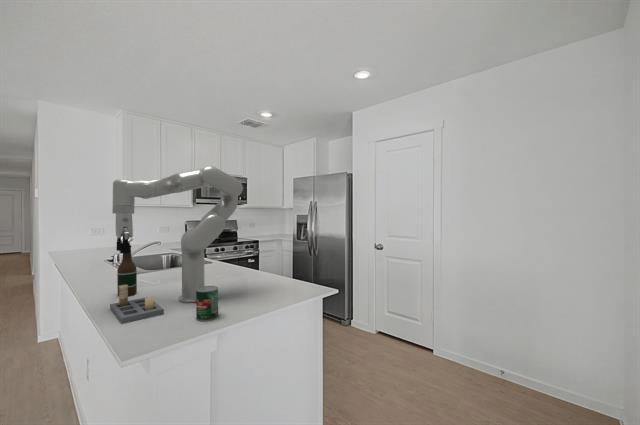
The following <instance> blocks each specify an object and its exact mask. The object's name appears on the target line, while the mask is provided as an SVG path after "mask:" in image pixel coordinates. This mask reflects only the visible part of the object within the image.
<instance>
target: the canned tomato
mask: <svg viewBox="0 0 640 425" xmlns="http://www.w3.org/2000/svg"><path fill="white" fill-rule="evenodd" d="M195 307H196V309H195V310H196V315H195V317H196V320H197V321H199V322H210V321H213V320H216V319H218V318H219V287H218V286H215V285H204V287H200V288H197V289H196V302H195Z"/></svg>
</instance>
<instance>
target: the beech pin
mask: <svg viewBox="0 0 640 425" xmlns="http://www.w3.org/2000/svg"><path fill="white" fill-rule="evenodd" d="M128 301H129V297H128V285H120V286H119V296H118V303H119V307H123V306H128Z"/></svg>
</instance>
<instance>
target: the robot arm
mask: <svg viewBox="0 0 640 425" xmlns="http://www.w3.org/2000/svg"><path fill="white" fill-rule="evenodd" d="M207 187H212V188H214V189H216V190H218V191H219V192H220V199H219V201H218V202H217V203H216V204H215V205H214V207H212V208H211V209H210V210H209V211H208V212H207V213H206V214H205V215H203V216H202V218H201V219H200V221H199V224H197V225H196V227H194V228H193V229H189V230H187V231H185V232H183V234H182V236H181V239H180V248H181V295H180V296H178V299H177V300H178V302H180V303H187V304H188V303H196V289H197V288H200V287H204V286H205V250H206V248H208V247H209V246H210V244H212V243H213V242H214V241H215V240H216V239H217V238H218V237H219V236H220V235H221V234H222V233H223V232H224V230H225V228H226V222H227V220H229V218H230V217H232V215H233V214H234V213H235V211H236V209H237V207H238V203H239V196H241V194H242V192H243V191H244V186H243V184H242V182H241V181H240V180H239V179H238V178H235V177H233V176H232V175H230V174H228V173H227V172H224V171H222V169H220V168H217V167H216V166H212V165H207V166H205V167H204V168H198V169H193V170H188V171H181V172H177V173H174V174H172V175H170V176H167V177H162V178H159V179H155V180H154V179H153V180H147V179H146V180H145V179H143V180H129V179H115V180H114V181H113V182H112V210H111V211H112V214H115V236H116V251H117V252H119V253H120V254H123V253H129V252H130V245H131V241H130V239H132V238H133V237H134V235H133V234H134V233H133V232H134V229H133V228H134V227H133V226H134V225H133V222H134V221H133V215H134V214H135V204H136V203H135V198H141V199H142V200H147V199H148V200H149V199H153V198H157V197H163V196H166V195H170V194H171V195H172V194H179V193H183V192H188V191H193V190H196V189H202V188H207Z"/></svg>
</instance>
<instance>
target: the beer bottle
mask: <svg viewBox="0 0 640 425" xmlns="http://www.w3.org/2000/svg"><path fill="white" fill-rule="evenodd" d="M136 266H137V265H136V264H135V263H134V262H133V258H132V244H130V252H129V253H122V257H121V262H120V263H119V265H118V267H117V273H116V274H117V280H116V281H117V283H116V284H117V296H118V297H119V286H120V285H128V298H129V297H132V296H135V295H137V291H138V285H137V284H138V282H137V280H138V278H137V277H138V276H137V274H138V273H137V267H136Z"/></svg>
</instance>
